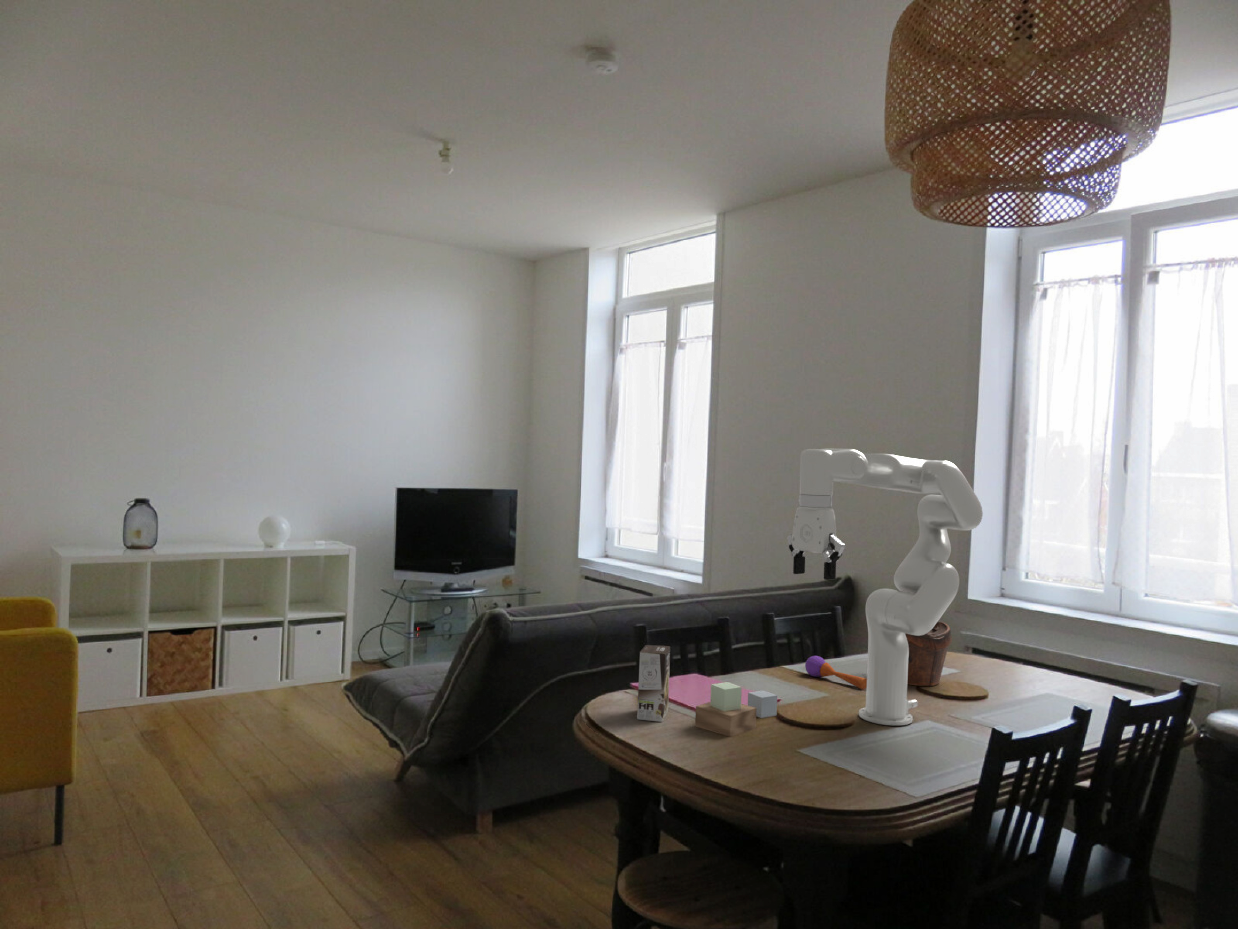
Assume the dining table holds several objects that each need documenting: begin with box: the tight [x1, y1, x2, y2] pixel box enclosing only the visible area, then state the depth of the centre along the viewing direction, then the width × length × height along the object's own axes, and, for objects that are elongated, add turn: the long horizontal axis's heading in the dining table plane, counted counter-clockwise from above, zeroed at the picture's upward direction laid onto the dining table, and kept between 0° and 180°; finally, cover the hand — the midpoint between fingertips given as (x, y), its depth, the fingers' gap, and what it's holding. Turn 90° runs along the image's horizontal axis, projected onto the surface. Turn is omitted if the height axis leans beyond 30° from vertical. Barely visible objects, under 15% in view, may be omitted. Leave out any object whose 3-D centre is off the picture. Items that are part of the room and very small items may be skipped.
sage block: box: [710, 681, 743, 711], centre depth 206 cm, size 5×5×5 cm
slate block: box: [747, 690, 778, 719], centre depth 218 cm, size 5×5×5 cm
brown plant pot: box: [905, 621, 953, 687], centre depth 256 cm, size 18×20×18 cm
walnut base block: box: [694, 701, 757, 738], centre depth 206 cm, size 10×10×5 cm
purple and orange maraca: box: [804, 655, 867, 690], centre depth 252 cm, size 6×6×20 cm
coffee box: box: [636, 644, 671, 723], centre depth 213 cm, size 9×6×16 cm
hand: (814, 576), depth 205 cm, fingers open, 9 cm apart
